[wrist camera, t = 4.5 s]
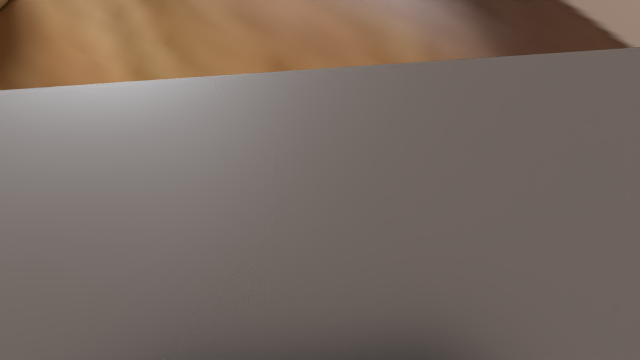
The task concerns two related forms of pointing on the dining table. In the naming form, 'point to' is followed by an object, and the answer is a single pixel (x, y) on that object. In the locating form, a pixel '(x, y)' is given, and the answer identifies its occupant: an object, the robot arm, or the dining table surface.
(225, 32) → the dining table surface
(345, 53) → the dining table surface
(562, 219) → the gray rectangular block
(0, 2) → the hand bell
